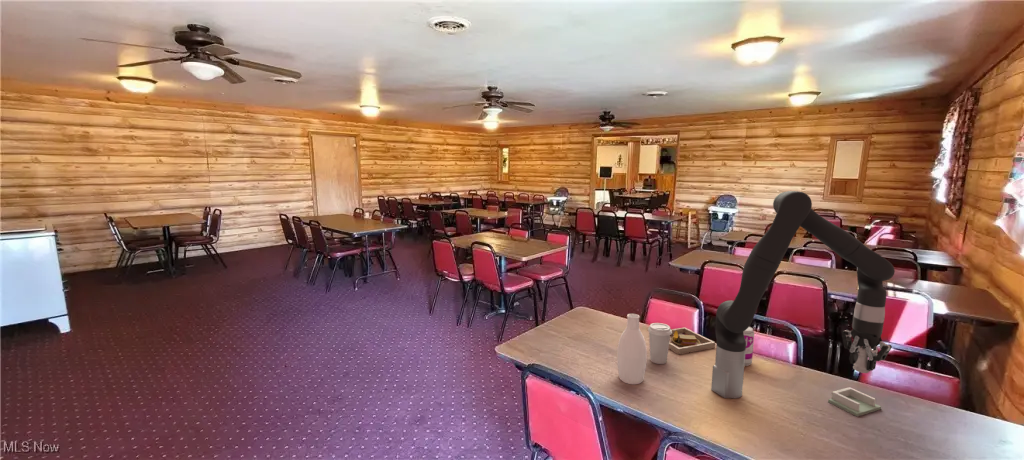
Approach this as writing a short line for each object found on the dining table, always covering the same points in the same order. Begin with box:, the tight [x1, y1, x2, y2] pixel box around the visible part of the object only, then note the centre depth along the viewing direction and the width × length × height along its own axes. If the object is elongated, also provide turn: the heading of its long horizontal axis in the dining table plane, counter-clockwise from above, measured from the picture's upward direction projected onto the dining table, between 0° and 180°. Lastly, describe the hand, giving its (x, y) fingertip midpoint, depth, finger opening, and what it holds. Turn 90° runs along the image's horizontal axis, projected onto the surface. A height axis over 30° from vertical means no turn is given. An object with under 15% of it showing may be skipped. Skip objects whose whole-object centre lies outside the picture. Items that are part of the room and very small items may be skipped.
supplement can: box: [743, 326, 755, 367], centre depth 172 cm, size 8×8×15 cm
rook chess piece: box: [852, 346, 871, 374], centre depth 137 cm, size 4×4×8 cm
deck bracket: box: [827, 386, 882, 417], centre depth 141 cm, size 12×9×4 cm
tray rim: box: [668, 326, 716, 355], centre depth 192 cm, size 20×19×2 cm
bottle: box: [616, 313, 648, 385], centre depth 158 cm, size 11×11×25 cm
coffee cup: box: [647, 322, 672, 365], centre depth 174 cm, size 10×10×15 cm
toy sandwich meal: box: [670, 331, 701, 347], centre depth 192 cm, size 12×14×5 cm
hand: (861, 366), depth 137 cm, fingers closed on rook chess piece, 4 cm apart
